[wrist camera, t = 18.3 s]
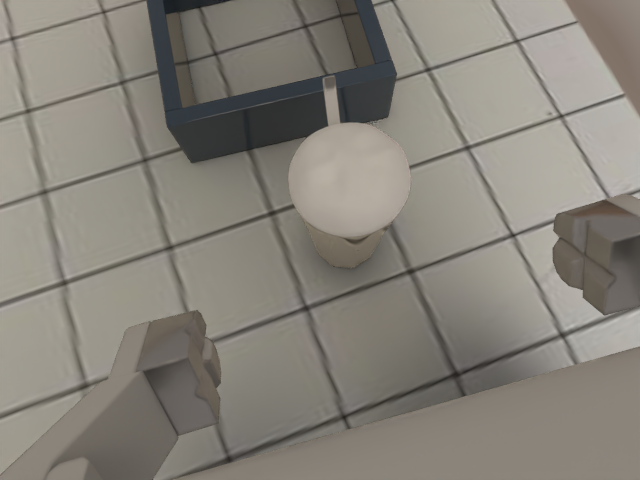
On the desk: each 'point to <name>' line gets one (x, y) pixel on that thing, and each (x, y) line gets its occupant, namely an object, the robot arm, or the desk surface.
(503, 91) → the desk surface
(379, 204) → the milkshake
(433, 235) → the desk surface
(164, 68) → the square frame
